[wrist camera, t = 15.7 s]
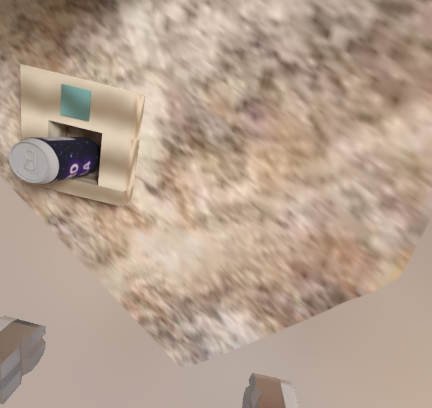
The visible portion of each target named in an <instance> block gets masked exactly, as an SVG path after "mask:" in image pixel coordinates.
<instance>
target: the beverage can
mask: <svg viewBox="0 0 432 408" xmlns="http://www.w3.org/2000/svg"><path fill="white" fill-rule="evenodd" d="M100 155H101V149H100V147H99V145H98V144H97V143H96V142H95V141H93V140H92V139H89V138H86V137H32V138H26V139H24V140H23V141H21V142H18V143H16V144H14V145H13V146H12V148H11V149H10V152H9V162H10V165H11V168H12V170H13V171H14V172H15V174H16V175H17V176H18V177H19V178H21V179H22V180H24V181H26V182H29V183H38V184H49V183H52V182H56V181H60V180H64V179H68V178H72V177H75V176H79V175H83V174H87V173H91V172H94V171H96V170H98V169H99V167H100Z"/></svg>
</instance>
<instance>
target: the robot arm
mask: <svg viewBox="0 0 432 408" xmlns="http://www.w3.org/2000/svg"><path fill="white" fill-rule="evenodd" d="M45 333H46V332H45V326H41V325H38V324H34V323H30V322H26V321H22V320H19V319H14V318H10V317H6V316H4V317H1V318H0V404H4V403H5V402H6V400H7V399H8V398H9V397H10V396H11V394H12V393H13V392H14V391H15V390H16V389H17V387H18V386H19V385H20V384H21V379H22V376H23V375H25V374H27V373H28V372H30V371H32V370H33V368H34V367H35V366H36V365H37V363H38V362H39V360H40V359H41V357H42V355H43V353H44V350H45V341H44V340H43V338H42V336H43V335H44V334H45ZM249 384H250V386H248V387H246V389H245V392H244V397H243V406H242V408H299V407H298V403H297V399H296V395H295V391H294V388H293V385H292V383H291V382H290V381H285V380H281V379H277V378H273V377H269V376H264V375H259V374H254V373H253V374H251V376H250V379H249Z"/></svg>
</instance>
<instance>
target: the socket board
mask: <svg viewBox="0 0 432 408" xmlns="http://www.w3.org/2000/svg"><path fill="white" fill-rule="evenodd" d="M20 83H21V135H22V141H23V140H24V139H26V138H32V137H67V125H71V126H75V127H79V128H83V129H87V130H91V131H95V132H99V133H102V143H101V155H100V167H99V178H97V177H93V176H89V175H84V174H83V175H79V176H75V177H72V178H68V179H64V180H60V181H56V182H52V183H49V184H38V183H29V182H26V181H24V180H22V183H25V184H29V185H33V186H38V187H42V188H46V189H50V190H54V191H59V192H63V193H67V194H71V195H75V196H79V197H84V198H88V199H92V200H96V201H100V202H105V203H109V204H113V205H117V206H123V205H125V204H126V203H128V202H129V201H131V200H132V194H133V186H134V178H135V170H136V163H137V155H138V147H139V140H140V132H141V124H142V116H143V109H144V101H145V97H144V96H142V95H140V94H138V93H136V92H133V91H129V90H125V89H121V88H117V87H113V86H109V85H105V84H101V83H97V82H93V81H88V80H84V79H80V78H76V77H72V76H68V75H64V74H60V73H56V72H52V71H48V70H44V69H40V68H36V67H32V66H28V65H24V64H20Z"/></svg>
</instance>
